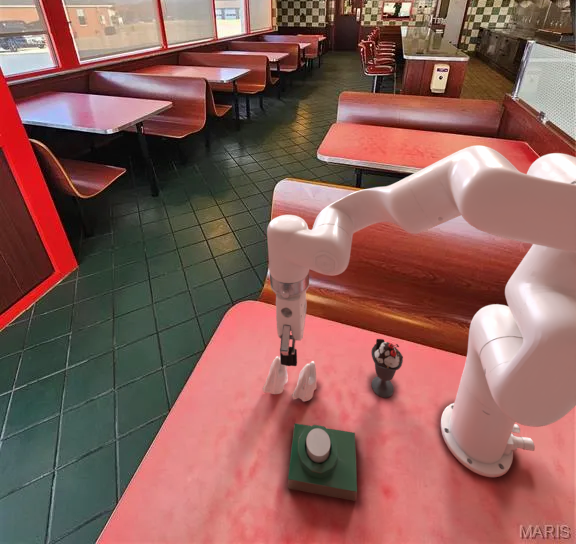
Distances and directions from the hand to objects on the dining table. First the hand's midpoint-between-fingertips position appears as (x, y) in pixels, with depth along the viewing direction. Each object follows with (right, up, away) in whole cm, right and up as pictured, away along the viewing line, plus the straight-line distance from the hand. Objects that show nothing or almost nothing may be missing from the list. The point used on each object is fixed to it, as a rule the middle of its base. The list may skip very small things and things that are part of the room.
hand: (292, 342), depth 69 cm
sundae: (+21, -14, +7) cm, 26 cm away
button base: (+6, -19, -7) cm, 21 cm away
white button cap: (+5, -15, -8) cm, 18 cm away
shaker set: (0, -15, +6) cm, 16 cm away
